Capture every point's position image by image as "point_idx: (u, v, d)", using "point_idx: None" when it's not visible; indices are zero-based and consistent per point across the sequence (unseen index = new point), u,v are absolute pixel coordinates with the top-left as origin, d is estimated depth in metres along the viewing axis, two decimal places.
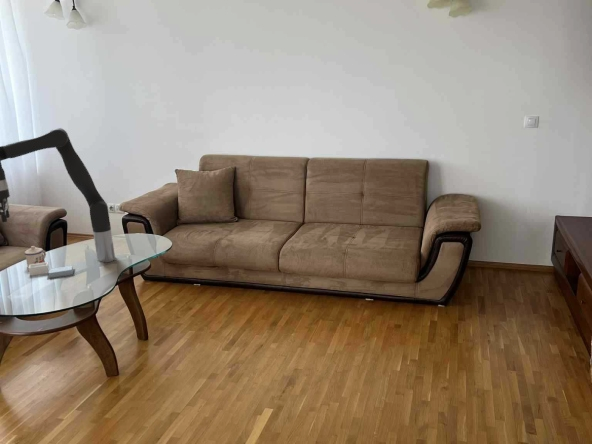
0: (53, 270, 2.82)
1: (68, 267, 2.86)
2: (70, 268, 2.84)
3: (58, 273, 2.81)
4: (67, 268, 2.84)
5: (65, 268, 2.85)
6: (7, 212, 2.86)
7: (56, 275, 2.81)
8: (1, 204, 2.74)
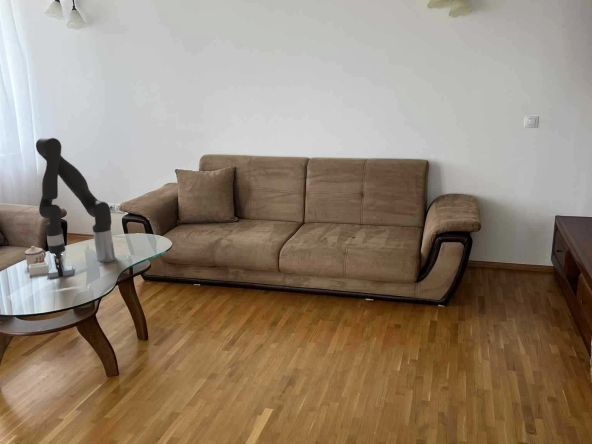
0: (53, 270, 2.82)
1: (68, 267, 2.86)
2: (70, 268, 2.84)
3: None
4: (67, 268, 2.84)
5: (65, 268, 2.85)
6: (62, 266, 2.87)
7: (56, 275, 2.81)
8: (58, 260, 2.76)
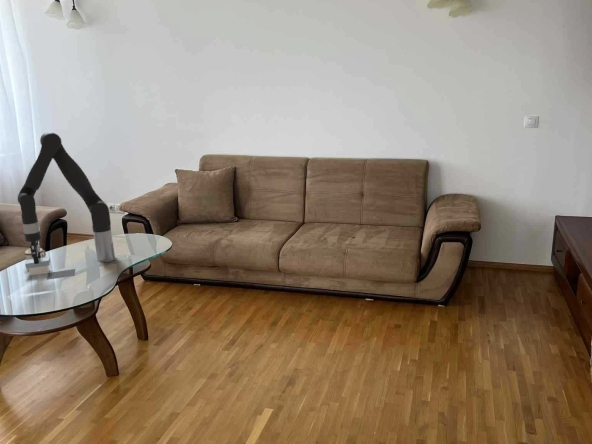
0: (29, 261, 2.85)
1: (45, 258, 2.89)
2: (47, 259, 2.87)
3: (35, 264, 2.84)
4: (43, 259, 2.87)
5: (42, 259, 2.88)
6: (38, 253, 2.90)
7: (33, 266, 2.84)
8: (34, 247, 2.78)
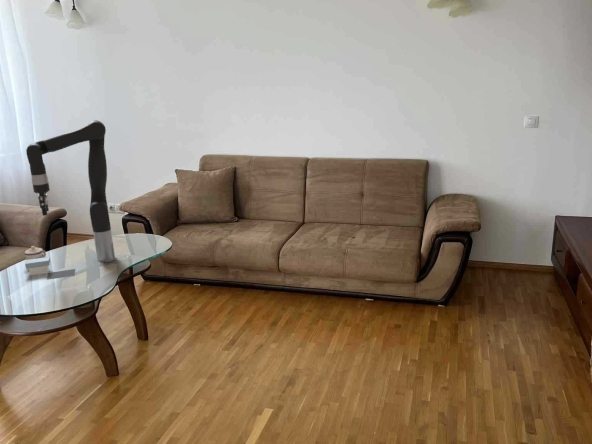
0: (29, 261, 2.85)
1: (45, 258, 2.89)
2: (47, 259, 2.87)
3: (35, 264, 2.84)
4: (43, 259, 2.87)
5: (42, 259, 2.88)
6: (46, 206, 2.92)
7: (33, 266, 2.84)
8: (42, 198, 2.80)
